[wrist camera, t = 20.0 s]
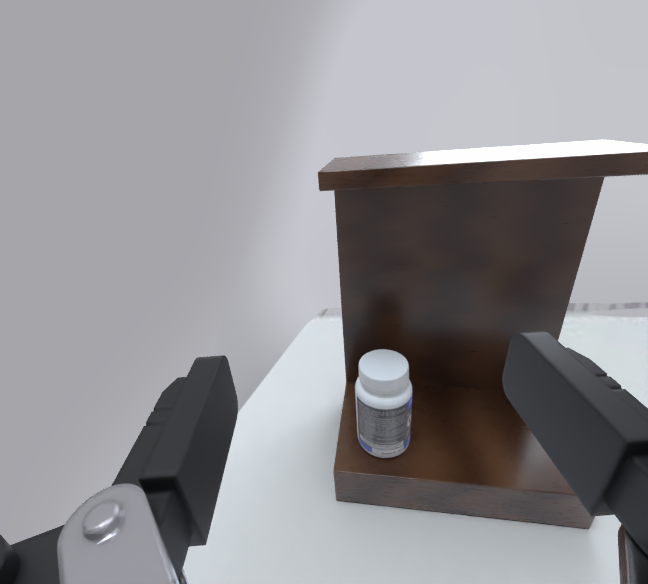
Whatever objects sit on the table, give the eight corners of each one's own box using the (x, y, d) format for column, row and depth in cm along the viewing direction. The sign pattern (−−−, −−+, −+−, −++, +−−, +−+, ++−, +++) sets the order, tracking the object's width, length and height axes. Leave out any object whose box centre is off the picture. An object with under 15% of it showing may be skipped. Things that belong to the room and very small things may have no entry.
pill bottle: (419, 453, 29) (424, 377, 25) (366, 465, 28) (363, 389, 25) (398, 412, 33) (400, 341, 29) (351, 421, 33) (347, 351, 29)
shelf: (336, 500, 30) (304, 182, 18) (348, 400, 40) (334, 157, 28) (589, 529, 26) (769, 157, 14) (531, 411, 37) (605, 139, 25)
